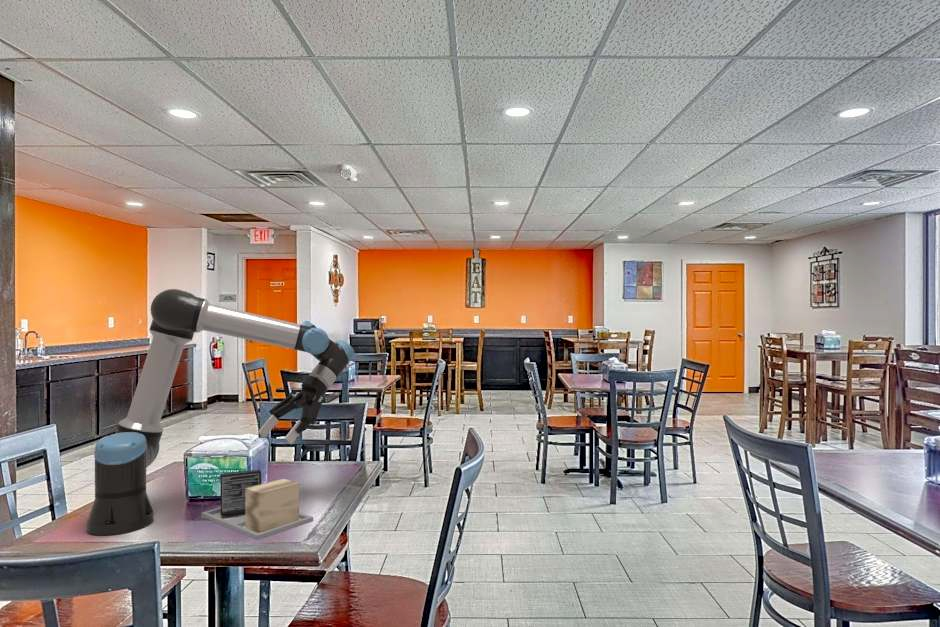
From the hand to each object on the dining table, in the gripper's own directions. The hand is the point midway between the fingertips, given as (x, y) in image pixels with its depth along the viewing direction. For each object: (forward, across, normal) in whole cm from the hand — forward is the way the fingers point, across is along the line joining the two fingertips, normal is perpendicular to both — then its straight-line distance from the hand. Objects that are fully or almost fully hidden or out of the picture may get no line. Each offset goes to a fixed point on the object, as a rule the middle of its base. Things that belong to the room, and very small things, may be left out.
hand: (274, 438), depth 165 cm
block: (+20, -17, -5) cm, 27 cm away
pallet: (+22, -9, -6) cm, 24 cm away
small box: (+20, -2, -5) cm, 21 cm away
